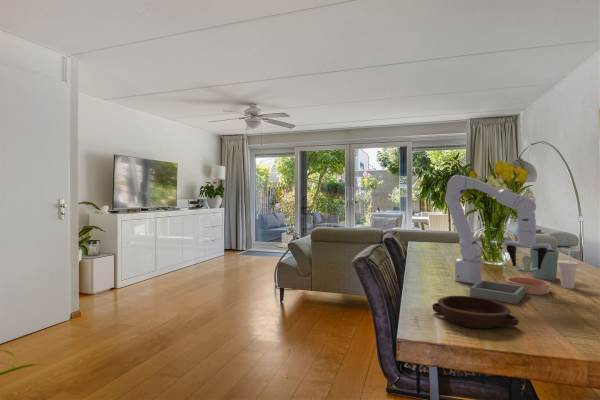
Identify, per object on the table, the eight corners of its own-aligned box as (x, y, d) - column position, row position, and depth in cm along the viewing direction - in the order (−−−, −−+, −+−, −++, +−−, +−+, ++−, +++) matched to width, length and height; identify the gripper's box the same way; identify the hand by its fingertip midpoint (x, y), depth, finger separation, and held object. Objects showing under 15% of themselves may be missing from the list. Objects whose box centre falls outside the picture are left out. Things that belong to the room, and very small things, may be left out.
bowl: (501, 289, 128) (501, 281, 128) (510, 282, 138) (510, 275, 138) (546, 296, 119) (546, 287, 119) (551, 288, 129) (551, 280, 129)
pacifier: (536, 276, 123) (539, 272, 127) (535, 258, 123) (539, 256, 127) (512, 273, 128) (517, 270, 133) (512, 256, 128) (516, 253, 132)
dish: (516, 341, 83) (516, 321, 83) (423, 322, 96) (423, 305, 96) (520, 320, 97) (520, 302, 97) (439, 306, 110) (439, 290, 110)
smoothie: (582, 289, 127) (582, 252, 126) (562, 289, 128) (562, 251, 128) (572, 285, 133) (572, 249, 133) (553, 284, 134) (553, 249, 134)
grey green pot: (547, 274, 151) (547, 247, 151) (565, 280, 141) (565, 251, 141) (524, 275, 151) (524, 247, 151) (540, 280, 141) (540, 251, 141)
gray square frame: (470, 295, 120) (470, 287, 120) (481, 287, 131) (481, 280, 131) (516, 304, 111) (516, 294, 111) (525, 294, 121) (525, 286, 121)
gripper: (501, 230, 130) (502, 266, 130) (548, 232, 120) (548, 271, 120) (506, 229, 135) (506, 263, 135) (551, 231, 125) (551, 268, 126)
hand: (526, 267), depth 128 cm, fingers closed on pacifier, 7 cm apart
